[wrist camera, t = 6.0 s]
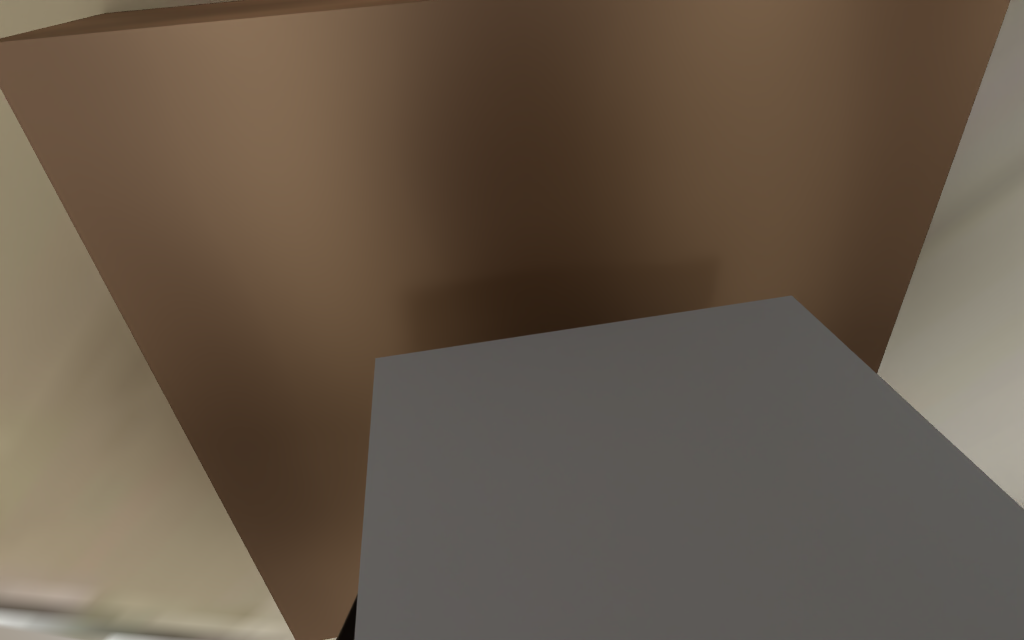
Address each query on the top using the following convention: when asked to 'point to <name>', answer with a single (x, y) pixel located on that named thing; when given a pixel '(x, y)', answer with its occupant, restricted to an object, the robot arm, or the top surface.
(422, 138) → the walnut slab
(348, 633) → the robot arm
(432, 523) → the slate cube
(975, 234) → the top surface
